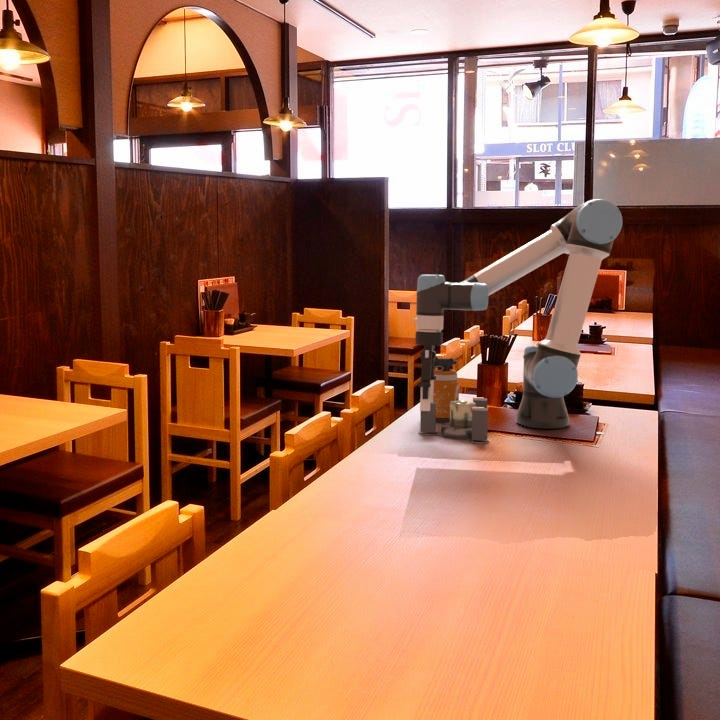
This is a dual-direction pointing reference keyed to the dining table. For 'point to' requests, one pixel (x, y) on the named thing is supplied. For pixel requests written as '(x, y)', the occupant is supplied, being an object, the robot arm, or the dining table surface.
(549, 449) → the dining table surface
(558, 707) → the dining table surface
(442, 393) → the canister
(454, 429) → the tribrach
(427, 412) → the grey upright block
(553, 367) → the robot arm
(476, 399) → the knob
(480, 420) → the gray rectangular block
